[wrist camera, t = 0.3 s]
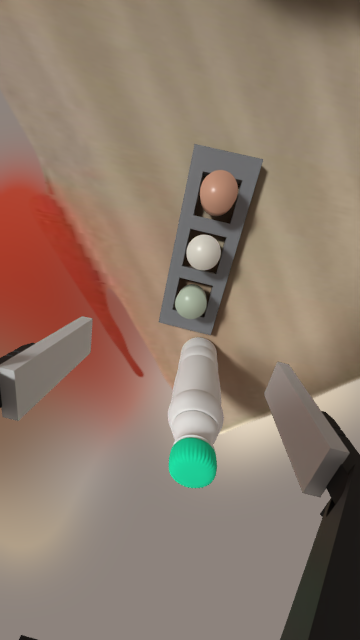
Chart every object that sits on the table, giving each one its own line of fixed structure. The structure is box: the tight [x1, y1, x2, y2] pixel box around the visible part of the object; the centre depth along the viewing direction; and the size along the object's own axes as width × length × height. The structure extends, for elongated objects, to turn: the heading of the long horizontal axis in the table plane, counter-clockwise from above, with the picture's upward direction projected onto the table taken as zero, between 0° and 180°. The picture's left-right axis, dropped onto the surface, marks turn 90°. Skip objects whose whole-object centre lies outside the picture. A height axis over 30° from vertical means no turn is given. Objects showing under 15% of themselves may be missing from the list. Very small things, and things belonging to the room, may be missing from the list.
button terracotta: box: [200, 170, 238, 216], centre depth 31 cm, size 5×5×4 cm
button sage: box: [175, 284, 206, 319], centre depth 36 cm, size 5×5×4 cm
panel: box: [159, 144, 263, 335], centre depth 36 cm, size 28×10×2 cm, turn 167°
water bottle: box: [168, 337, 224, 488], centre depth 32 cm, size 7×7×25 cm
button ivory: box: [186, 235, 221, 270], centre depth 33 cm, size 5×5×4 cm
